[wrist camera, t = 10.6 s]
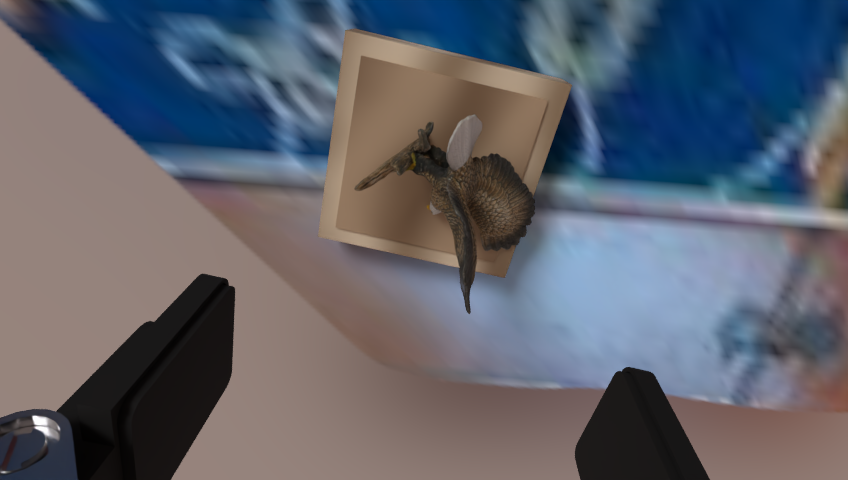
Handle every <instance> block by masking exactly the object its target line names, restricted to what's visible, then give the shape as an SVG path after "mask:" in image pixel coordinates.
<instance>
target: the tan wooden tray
mask: <svg viewBox="0 0 848 480" xmlns="http://www.w3.org/2000/svg"><path fill="white" fill-rule="evenodd" d="M571 87H572V85H571V84H569V83H568V82H566V81H564V80H563V79H560V78H556V77H552V76H548V75H544V74H539V73H535V72H531V71H527V70H523V69H519V68H515V67H511V66H507V65H502V64H498V63H494V62H490V61H486V60H482V59H478V58H474V57H469V56H465V55H461V54H457V53H453V52H449V51H445V50H441V49H437V48H432V47H428V46H424V45H420V44H416V43H412V42H408V41H404V40H400V39H395V38H391V37H387V36H383V35H379V34H375V33H371V32H367V31H362V30H358V29H350V30H345V38H344V45H343V53H342V60H341V68H340V76H339V83H338V91H337V98H336V106H335V113H334V121H333V128H332V136H331V143H330V151H329V158H328V166H327V173H326V181H325V188H324V196H323V203H322V211H321V218H320V226H319V234H318V237H322V238H326V239H331V240H335V241H340V242H344V243H349V244H353V245H358V246H362V247H367V248H372V249H376V250H381V251H385V252H390V253H394V254H399V255H403V256H408V257H412V258H417V259H421V260H426V261H430V262H435V263H439V264H444V265H448V266H453V267H458V268H459V264H458V259H457V256H456V252H455V246H454V237H453V234H452V230H451V228H450V225H449V223H448V221H447V219H446V217H445V215H444V213H442V212H441V213H439V214H435V215H433V214H432V212H431V211H430V210H428V209H427V207H426V206H427V205H430V195H431V191H432V189H433V187H432V185H431V184H430V182H429V181H428V180H427V179H426V178H425V177H424V176H421V175H417V174H415V173H414V172H413V171H411V170H408V171H405V172H404V173H403V174H402V175H401V176H399V175H397V172H393V173H390V174H388V175H387V176H386V177H385V178H384V179H382V180H380V181H378V182H377V183H375V184H374V185H373V186H371V187H369V188H366V189H364V190H362V191H356V190H355V189H354V188H355V186H356V185H357V184H358V183H360V182H361V181H362V180H363V179H364V178H366V177H367V176H368V175H370V174H371V173H372V172H374V171H375V170H376V169H377V168H378V167H379V166H381V165H382V164H383V163H384V162H385V161H387V160H388V159H390V158H391V157H392V156H394V155H396V154H397V153H399V152H400V151H401V150H402V149H404V148H405V147H406V146H408V145H409V144H410V143H412V142H413V141H415V140H417V139H418V138H419V136H418V130H419V129H423V130H425V129H426V128H425V127H426V125H427V123H428V122H431V121H433V123H434V126H433V131H432V133H431V134H430V136H429V139H430V146H431V145H434V146H436V147H439V148H441V150H442V151H444V152H446V153H447V148H448V144H449V140H450V138H451V136H452V134H453V132H454V130H455V129H456V127H457V125H458V123H459V122H460V121H461V120H463V119H465V118H466V117H467V116H472V115H474V114H475V115H476V116H477V118H478V119H479V120H480V121H481V122H482V131H481V133H480V135H479V137H478V138H477V140H476V143H475V145H474V148H473V151H472V158H474V157H478V158H480V159H481V157H482V156H489V154H490V153H493V154H496V153H497V154H499V155H500V156H501V157H503V158H506V159H507V161H510V162H511V164H512V166H513V167H514V170H515V173H517V174H518V175H519V177H520V178H521V179H522V183H524V184H526V185H527V187H528V189H529V192H532V194H533V196H534V193H535V190H536V187H537V184H538V181H539V178H540V176H541V173H542V170H543V167H544V164H545V161H546V158H547V155H548V153H549V150H550V147H551V144H552V141H553V138H554V135H555V132H556V130H557V127H558V124H559V121H560V118H561V115H562V112H563V109H564V107H565V104H566V101H567V98H568V95H569V92H570V89H571ZM424 157H425V158H429V157H427V156H424ZM471 217H472V216H471ZM472 222H473V227H474V230H475V234H476V237H475V238H476V241H477V244H476V245H477V264H476V270H475V271H476V272H480V273H485V274H489V275H494V276H498V277H503V278H505V276H506V273H507V270H508V267H509V264H510V262H511V259H512V256H513V253H514V250H515V247H516V246H513V245H512V246H511V248H510V249H509V250H505V249H503V248H501V249H500V250H498V251H494V250H492V249H490V250H489V251H485V250H484V248H483V246H482V243H481V238H480V230H479V228H478V227H477V225H476V223H475V221H474V220H473V218H472Z"/></svg>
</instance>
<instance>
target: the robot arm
mask: <svg viewBox="0 0 848 480" xmlns="http://www.w3.org/2000/svg"><path fill="white" fill-rule="evenodd" d="M234 307H235V288H234V287H233V286H229V284H228V280H227V279H225V278H221V277H216V276H211V275H207V274H201V275H199V276H198V277H197V278H196V279H195V280H194V281H193V282H192V283H191V284H190V285H189V286H188V287H187V288H186V289H185V291H184V292H183V293H182V294H181V295H180V296H179V297H178V298H177V299H176V300H175V301H174V302H173V303H172V304H171V305H170V306H169V307H168V308H167V309H166V310H165V311H164V312H163V313H162V315H161V316H160V317H159V318H158V319H157V320H156V321H155V322H152V321H149V322H146V323H144V324H143V325H142V326H140V327H139V328H138V329H137V330H136V331H135V332H134V333H133V334H132V335H131V336H130V337H129V338H128V339H127V340H126V342H124V343H123V344H122V345H121V346H120V347H119V348H118V349H117V350H116V351H115V352H114V354H113V355H111V356H110V357H109V358H108V360H106V362H105V363H104V364H103V365H102V366H101V367H100V368H99V369H98V370H97V371H96V372H95V373H94V374H93V375H92V376H91V377H90V378H89V379H88V380H87V381H86V382H85V383H84V384H83V385H82V386H81V387H80V388H79V389H78V390H77V391H76V392H75V393H74V394H73V395H72V396H71V397H70V398H69V399H68V400H67V401H66V402H65V403H64V404H63V405H62V406H61V407H60V408H59V409H58V410H57V411H56V412H55V411H51V410H46V409H32V410H26V411H20V412H16V413H13V414H10V415H7V416H4V417H1V418H0V480H171V478H172V477H173V475H174V473H175V472H176V470H177V468H178V467H179V465H180V463H181V461H182V460H183V458H184V457H185V455H186V453H187V452H188V450H189V448H190V447H191V445H192V443H193V441H194V440H195V439H196V437H197V435H198V433H199V432H200V430H201V429H202V427H203V425H204V424H205V422H206V420H207V419H208V417H209V415H210V414H211V412H212V410H213V409H214V407H215V405H216V404H217V402H218V400H219V399H220V397H221V396H222V394H223V392H224V391H225V389H226V387H227V385H228V383H229V380H230V377H231V373H232V357H233V332H234ZM575 460H576V464H577V468H578V472H579V476H580V479H581V480H710V479H709V477H708V475H707V473H706V471H705V470H704V468H703V466H702V464H701V462H700V460H699V458H698V457H697V454H696V453H695V451H694V449H693V447H692V445H691V443H690V441H689V439H688V437H687V436H686V434H685V432H684V430H683V428H682V426H681V424H680V422H679V421H678V419H677V417H676V415H675V413H674V411H673V409H672V407H671V406H670V404H669V402H668V400H667V398H666V396H665V394H664V392H663V390H662V388H661V387H660V385H659V383H658V381H657V379H656V377H655V376H654V374H653V373H651V372H649V371H645V370H640V369H635V368H631V367H626V368H624V369H623V370H622V372H621V371H618V372H616V373H615V375H614V376H613V378H612V380H611V382H610V384H609V385H608V387H607V389H606V391H605V393H604V395H603V396H602V398H601V400H600V402H599V404H598V406H597V408H596V409H595V411H594V413H593V415H592V417H591V419H590V421H589V422H588V424H587V426H586V428H585V430H584V432H583V433H582V435H581V437H580V439H579V441H578V443H577V445H576V449H575Z"/></svg>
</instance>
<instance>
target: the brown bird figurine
mask: <svg viewBox="0 0 848 480" xmlns="http://www.w3.org/2000/svg"><path fill="white" fill-rule="evenodd" d="M433 126H434V123H433V121H431V122H428V123H427V125H426V127H425V128H426V129H425V130H423V129H419V130H418V136H419V138H418V139H417V140H415V141H413V142H412V143H410V144H409V145H408V146H406V147H405V148H404V149H402V150H401V151H400V152H399V153H397V154H396V155H394V156H392V157H391V158H390V159H388V160H387V161H385V162H384V163H383V164H382V165H381V166H379V167H378V168H377V169H376V170H375V171H374V172H372V173H371V174H370V175H368V176H367V177H366V178H364V179H363V180H362V181H361V182H360V183H358V184H357V185H356V186H355V188H354V189H355V190H356V191H362V190H364V189H366V188H369V187H371V186H373V185H374V184H375V183H377V182H378V181H380V180H382V179H384V178H385V177H386V176H387V175H388V174H390V173H393V172H397V175H399V176H401V175H402V174H403V173H404V172H405V171H408V170H411V171H413V172H414V173H415V174H417V175H421V176H424V177H425V178H426V179H427V180H428V181H429V182H430V184H431V185H432V187H433V189H432V191H431V195H430V205H427V206H426V207H427V209H428V210H430V211H431V212H432V214H433V215H435V214H439V213H441V212H442V213H444V215H445V217H446V219H447V221H448V223H449V225H450V228H451V230H452V234H453V237H454V246H455V252H456V256H457V259H458V264H459V272H460V284H461V289H462V292H463V296H464V300H465V307H466V311H467V312H468V314H470V312H471V311H470V301H469V294H470V288H471V285H472V284H473V281H474V277H475V270H476V264H477V245H476V244H477V241H476V238H475V237H476V234H475V230H474V227H473V222H472V218H473V220H474V221H475V223H476V225H477V227H478V228H479V230H480V238H481V243H482V246H483V248H484V250H485V251H489V250H490V249H492V250H494V251H498V250H500V249H501V248H503V249H505V250H509V249H510V248H511V246H512V245H513V246H516V245H518V243H519V240H520V238H521V237H524V236H525V235H526V231H527V230H526V225H530V224H531V222H532V221H531V217H533V215H534V214H535V212H534V210H535V206H534V203H535V200H534V199H533V194H532V192H529V189H528V187H527V185H526V184H524V183H522V179H521V178H520V177H519V175H518V174H517V173H515V170H514V167H513V166H512V164H511V162H510V161H507V159H506V158H503V157H501V156H500V155H499V154H497V153H496V154H493V153H490V154H489V156H482V157H481V159H480V158H478V157H474V158H472V151H473V148H474V145H475V143H476V140H477V138H478V137H479V135H480V133H481V131H482V122H481V121H480V120H479V119H478V118H477V116H476V115H475V114H474V115H472V116H467V117H466V118H465V119H463V120H461V121H460V122H459V123H458V125H457V127H456V129H455V130H454V132H453V134H452V136H451V138H450V140H449V144H448V148H447V153H446V152H444V151H442V150H441V148H439V147H436V146H434V145H431V146H430V139H429V136H430V134H431V133H432V131H433ZM424 156H427V157H429V158H425V157H424ZM471 216H472V217H471Z"/></svg>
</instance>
